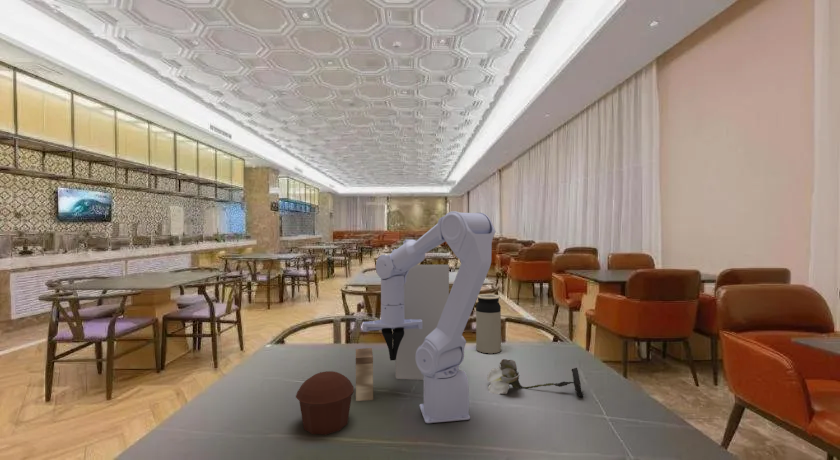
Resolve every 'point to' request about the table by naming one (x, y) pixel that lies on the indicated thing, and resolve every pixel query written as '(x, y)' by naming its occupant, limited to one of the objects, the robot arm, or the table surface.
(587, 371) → the table surface
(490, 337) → the travel mug
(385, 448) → the table surface
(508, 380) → the artificial flower
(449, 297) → the robot arm
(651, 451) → the table surface
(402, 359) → the tall grey block
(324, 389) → the muffin
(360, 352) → the maple block
